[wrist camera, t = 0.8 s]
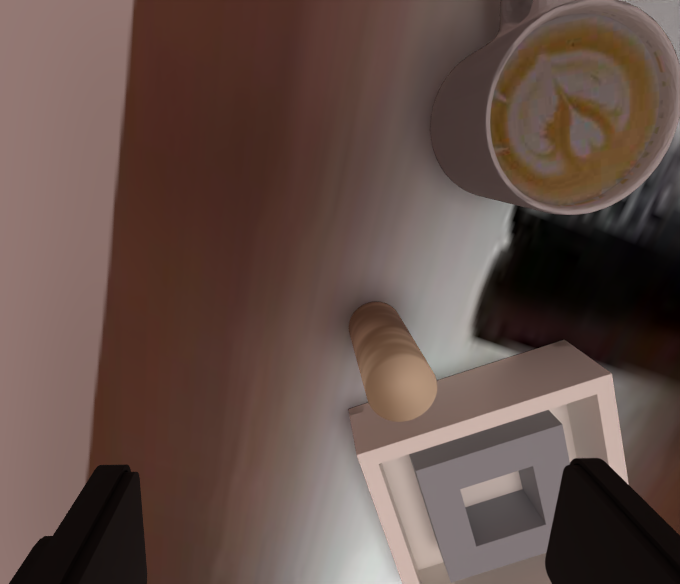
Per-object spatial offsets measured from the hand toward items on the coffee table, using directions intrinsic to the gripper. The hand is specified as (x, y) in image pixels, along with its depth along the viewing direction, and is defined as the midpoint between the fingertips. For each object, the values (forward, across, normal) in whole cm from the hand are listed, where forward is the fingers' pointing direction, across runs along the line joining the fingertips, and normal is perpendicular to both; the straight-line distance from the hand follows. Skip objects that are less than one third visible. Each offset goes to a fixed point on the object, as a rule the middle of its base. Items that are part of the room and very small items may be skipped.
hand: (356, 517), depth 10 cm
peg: (+25, -5, +5) cm, 26 cm away
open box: (+25, -15, +17) cm, 34 cm away
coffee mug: (+25, -12, -12) cm, 30 cm away
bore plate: (+25, -15, +17) cm, 34 cm away
